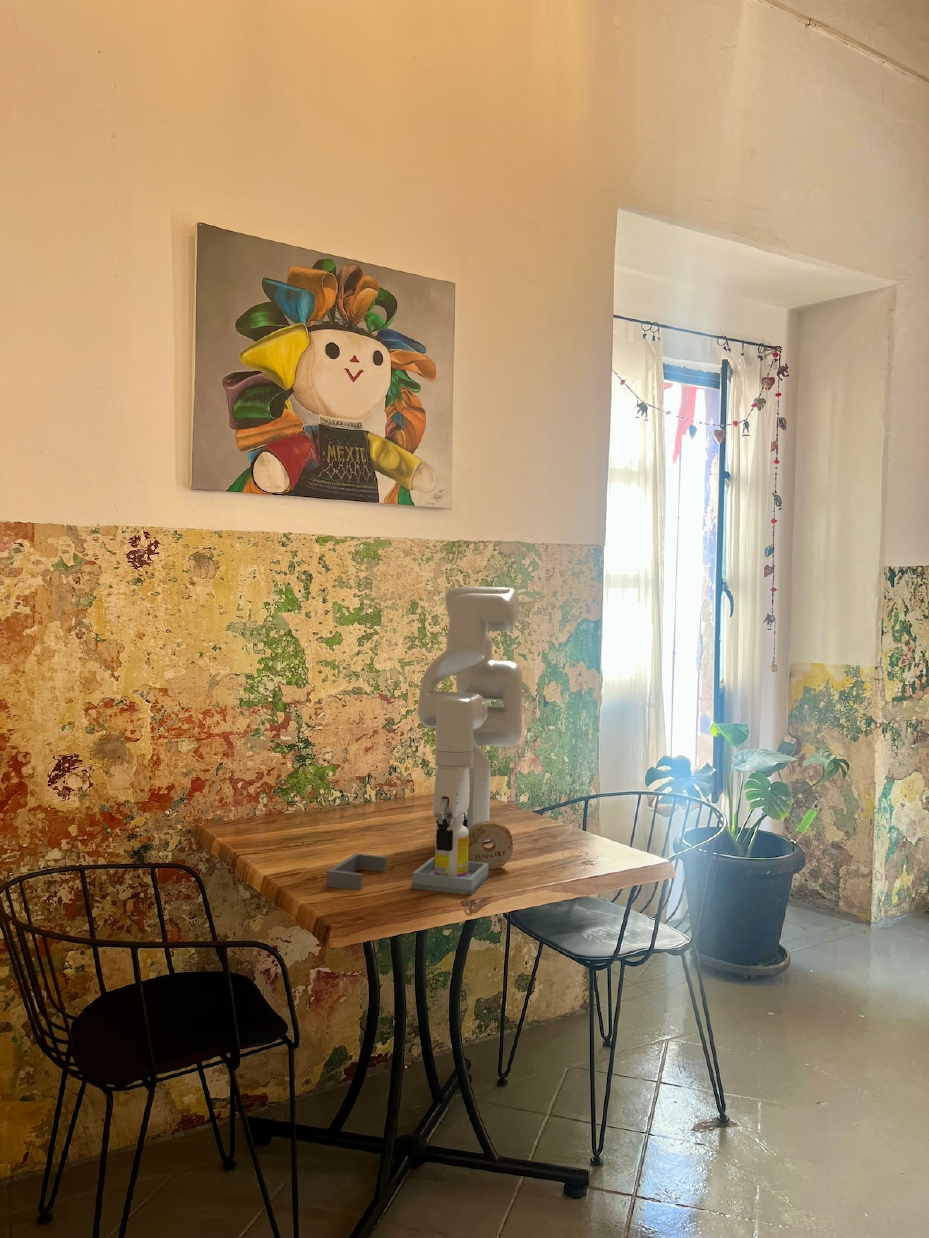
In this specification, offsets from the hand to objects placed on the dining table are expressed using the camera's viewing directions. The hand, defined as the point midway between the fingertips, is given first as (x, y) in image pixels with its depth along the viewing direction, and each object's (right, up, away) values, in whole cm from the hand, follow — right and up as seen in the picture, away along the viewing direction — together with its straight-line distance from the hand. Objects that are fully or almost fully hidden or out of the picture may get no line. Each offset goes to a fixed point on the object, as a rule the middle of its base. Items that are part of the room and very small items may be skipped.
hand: (451, 844), depth 183 cm
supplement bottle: (0, -7, 0) cm, 7 cm away
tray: (0, -8, 0) cm, 8 cm away
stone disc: (+7, -8, +11) cm, 16 cm away
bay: (-19, -7, +2) cm, 20 cm away
